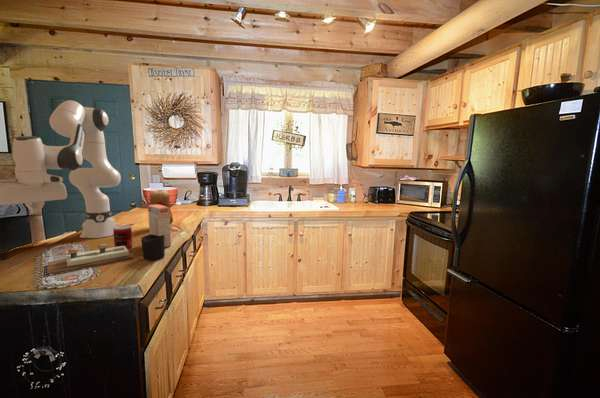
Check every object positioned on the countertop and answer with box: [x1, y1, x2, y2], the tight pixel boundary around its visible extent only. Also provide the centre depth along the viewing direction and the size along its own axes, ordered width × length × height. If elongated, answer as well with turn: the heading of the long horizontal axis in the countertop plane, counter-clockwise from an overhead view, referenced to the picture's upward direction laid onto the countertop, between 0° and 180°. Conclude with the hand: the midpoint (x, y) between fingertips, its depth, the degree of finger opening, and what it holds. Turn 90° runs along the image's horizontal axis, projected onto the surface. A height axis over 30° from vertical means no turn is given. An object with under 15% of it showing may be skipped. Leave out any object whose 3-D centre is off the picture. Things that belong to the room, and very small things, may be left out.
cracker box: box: [147, 204, 172, 248], centre depth 145 cm, size 14×6×21 cm, turn 47°
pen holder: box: [140, 234, 166, 262], centre depth 127 cm, size 9×9×10 cm
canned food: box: [113, 224, 133, 250], centre depth 139 cm, size 8×8×11 cm
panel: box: [65, 246, 130, 267], centre depth 122 cm, size 10×22×4 cm, turn 132°
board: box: [46, 243, 134, 276], centre depth 120 cm, size 14×29×7 cm, turn 132°
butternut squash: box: [149, 189, 174, 225], centre depth 177 cm, size 14×13×25 cm
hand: (36, 213), depth 109 cm, fingers closed
